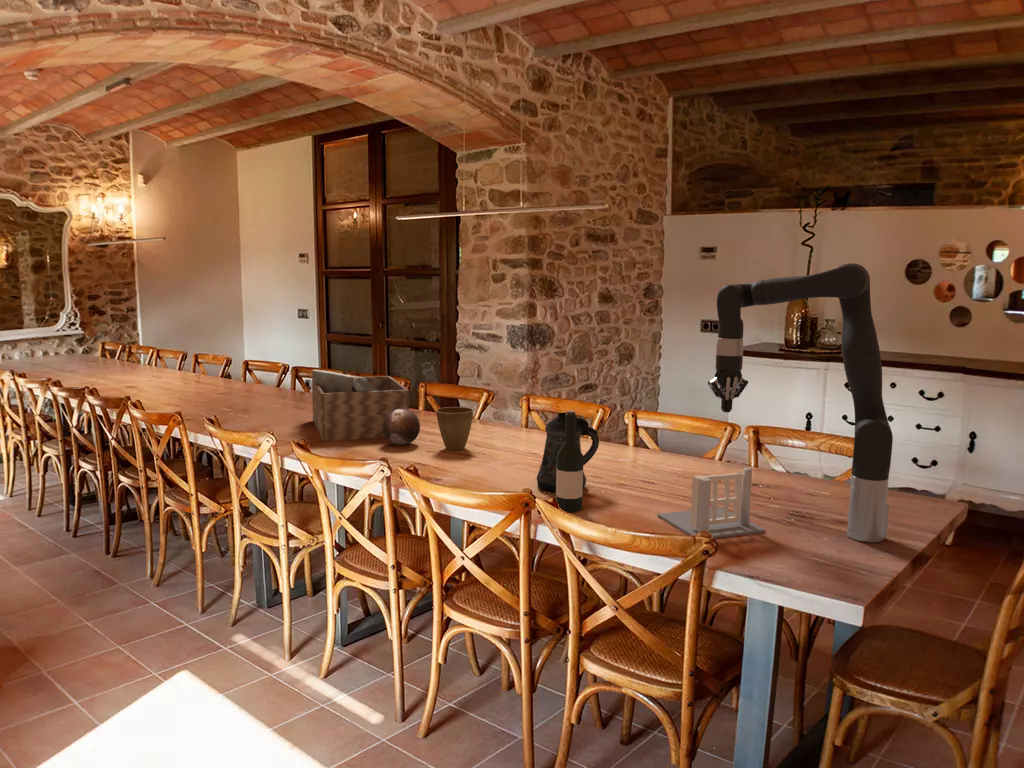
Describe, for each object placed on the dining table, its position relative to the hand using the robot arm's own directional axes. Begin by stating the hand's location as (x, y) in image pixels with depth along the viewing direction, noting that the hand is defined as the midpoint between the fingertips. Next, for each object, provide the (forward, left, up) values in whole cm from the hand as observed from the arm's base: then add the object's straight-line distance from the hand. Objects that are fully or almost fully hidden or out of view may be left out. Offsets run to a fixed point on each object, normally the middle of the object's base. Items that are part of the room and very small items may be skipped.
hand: (726, 411), depth 230 cm
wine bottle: (+42, -18, -31) cm, 55 cm away
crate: (+86, -155, -31) cm, 180 cm away
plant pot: (+55, -104, -31) cm, 122 cm away
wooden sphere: (+74, -117, -31) cm, 142 cm away
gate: (+11, +13, -29) cm, 34 cm away
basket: (+84, -155, -31) cm, 179 cm away
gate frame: (+9, +8, -31) cm, 33 cm away
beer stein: (+34, -40, -31) cm, 61 cm away
